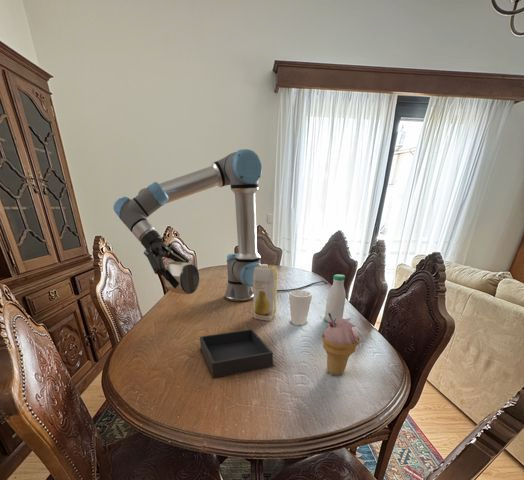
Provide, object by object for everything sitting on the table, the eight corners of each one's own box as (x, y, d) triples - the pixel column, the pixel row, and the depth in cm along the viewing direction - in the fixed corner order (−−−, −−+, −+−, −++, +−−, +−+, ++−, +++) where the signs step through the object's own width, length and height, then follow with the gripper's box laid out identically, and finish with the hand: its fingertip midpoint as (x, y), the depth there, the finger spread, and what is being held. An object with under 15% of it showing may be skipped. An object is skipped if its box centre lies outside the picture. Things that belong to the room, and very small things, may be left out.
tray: (252, 340, 109) (252, 328, 107) (272, 366, 93) (273, 352, 91) (201, 349, 103) (199, 336, 100) (213, 377, 87) (212, 363, 84)
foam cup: (311, 320, 128) (313, 291, 122) (307, 327, 120) (309, 298, 114) (290, 317, 131) (292, 289, 125) (285, 324, 123) (286, 295, 117)
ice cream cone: (333, 385, 84) (342, 322, 74) (310, 367, 92) (317, 309, 83) (360, 376, 88) (373, 315, 79) (337, 360, 97) (346, 303, 87)
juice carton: (251, 319, 128) (251, 264, 117) (258, 313, 135) (258, 261, 123) (271, 322, 125) (273, 266, 114) (277, 316, 132) (279, 262, 120)
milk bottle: (342, 324, 124) (349, 278, 115) (324, 322, 126) (330, 277, 116) (341, 317, 131) (348, 273, 122) (324, 316, 132) (329, 272, 123)
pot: (166, 294, 110) (162, 265, 105) (184, 286, 119) (181, 259, 114) (183, 297, 108) (180, 267, 102) (200, 289, 116) (197, 261, 111)
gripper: (164, 239, 120) (198, 280, 122) (119, 247, 101) (161, 296, 103) (172, 226, 116) (208, 269, 118) (128, 232, 97) (171, 283, 99)
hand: (186, 282), depth 111 cm, fingers closed on pot, 11 cm apart
